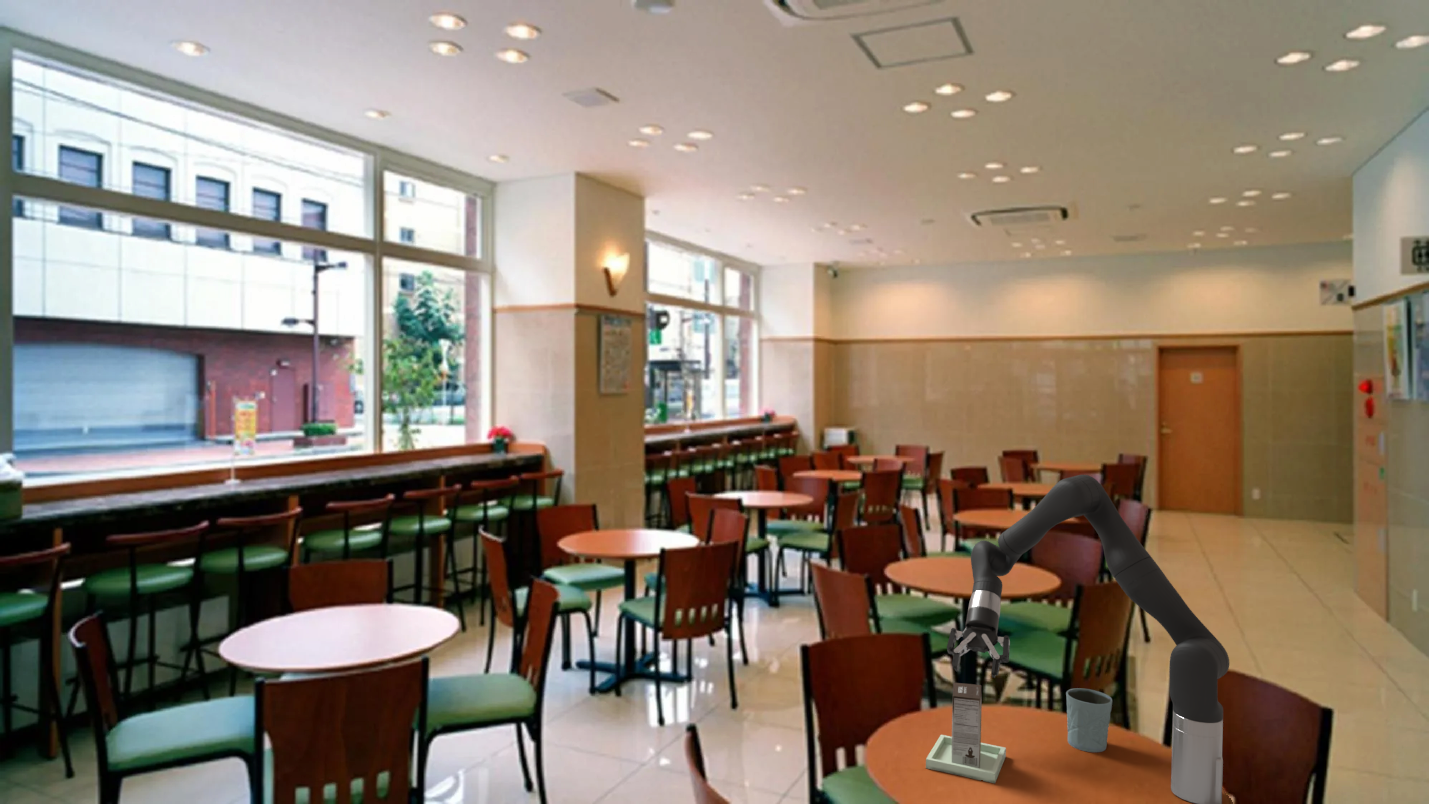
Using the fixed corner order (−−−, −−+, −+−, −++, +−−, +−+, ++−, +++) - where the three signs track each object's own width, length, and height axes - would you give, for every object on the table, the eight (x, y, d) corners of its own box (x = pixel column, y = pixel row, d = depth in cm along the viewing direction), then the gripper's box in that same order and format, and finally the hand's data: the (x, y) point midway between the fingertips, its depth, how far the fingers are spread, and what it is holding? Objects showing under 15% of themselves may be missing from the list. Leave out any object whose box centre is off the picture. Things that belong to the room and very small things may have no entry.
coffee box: (951, 748, 199) (953, 681, 199) (980, 752, 197) (981, 684, 197) (951, 765, 190) (952, 695, 190) (980, 769, 189) (982, 698, 188)
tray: (1005, 756, 197) (1005, 747, 197) (994, 783, 183) (995, 773, 183) (940, 742, 204) (940, 734, 204) (925, 767, 190) (925, 758, 190)
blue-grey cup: (1059, 734, 209) (1060, 686, 209) (1102, 736, 208) (1103, 688, 208) (1073, 752, 199) (1074, 702, 199) (1117, 755, 198) (1119, 704, 198)
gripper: (952, 601, 211) (941, 660, 201) (1012, 609, 205) (1004, 670, 195) (956, 617, 216) (946, 675, 206) (1014, 625, 209) (1007, 685, 200)
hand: (974, 672), depth 200 cm, fingers open, 8 cm apart
